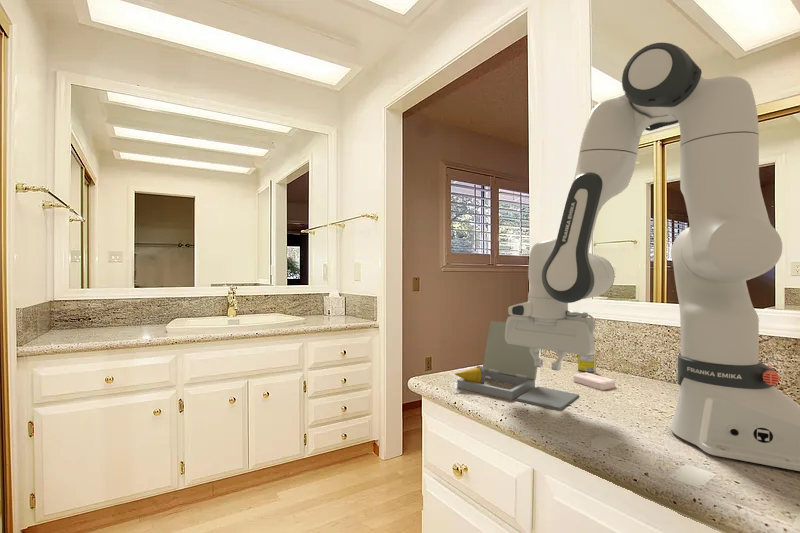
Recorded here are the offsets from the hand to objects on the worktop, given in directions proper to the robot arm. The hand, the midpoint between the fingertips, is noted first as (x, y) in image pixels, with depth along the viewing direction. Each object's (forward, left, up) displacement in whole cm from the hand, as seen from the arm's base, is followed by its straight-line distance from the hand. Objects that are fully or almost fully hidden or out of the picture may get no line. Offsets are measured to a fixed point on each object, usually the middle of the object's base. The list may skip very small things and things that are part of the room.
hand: (547, 368), depth 95 cm
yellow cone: (+14, 0, -5) cm, 15 cm away
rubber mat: (0, 0, -7) cm, 7 cm away
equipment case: (+13, 0, -7) cm, 15 cm away
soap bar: (-5, -19, -8) cm, 21 cm away
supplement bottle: (0, -30, -7) cm, 31 cm away
